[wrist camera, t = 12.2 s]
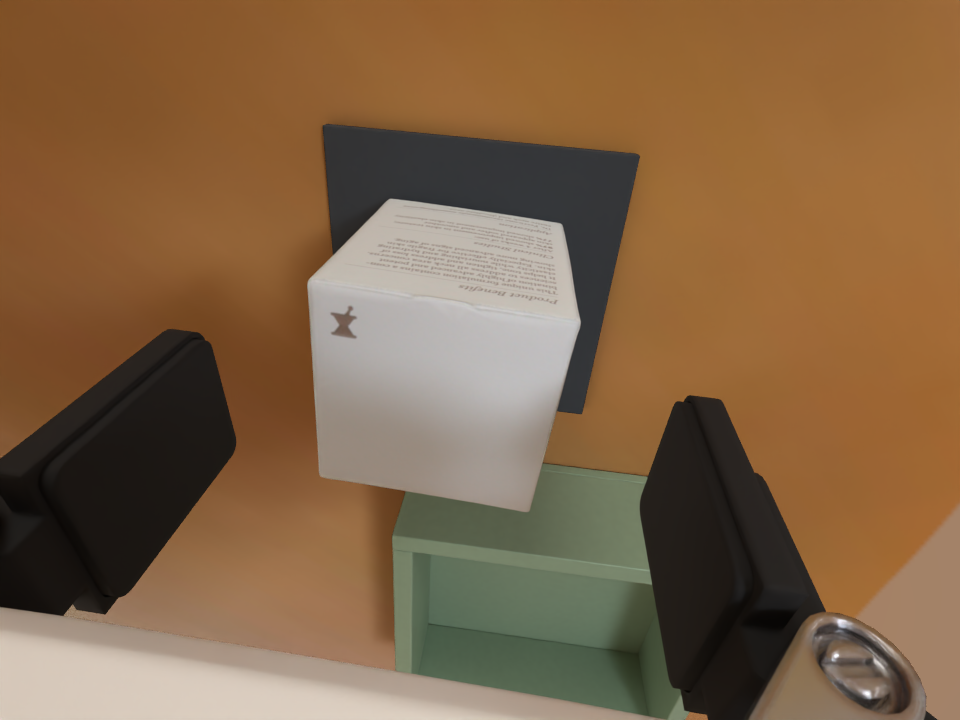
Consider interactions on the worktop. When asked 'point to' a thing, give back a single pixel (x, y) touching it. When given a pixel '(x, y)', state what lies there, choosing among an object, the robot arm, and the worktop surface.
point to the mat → (495, 203)
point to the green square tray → (535, 594)
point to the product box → (442, 352)
